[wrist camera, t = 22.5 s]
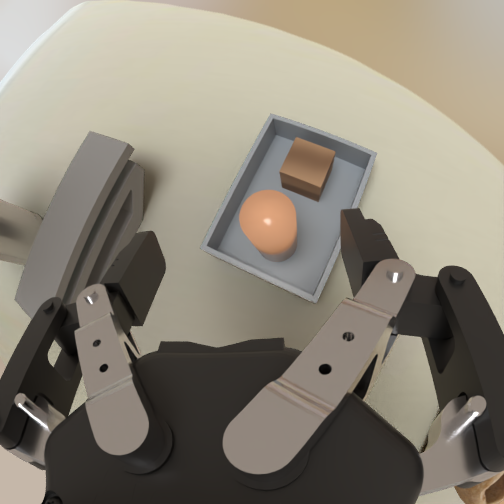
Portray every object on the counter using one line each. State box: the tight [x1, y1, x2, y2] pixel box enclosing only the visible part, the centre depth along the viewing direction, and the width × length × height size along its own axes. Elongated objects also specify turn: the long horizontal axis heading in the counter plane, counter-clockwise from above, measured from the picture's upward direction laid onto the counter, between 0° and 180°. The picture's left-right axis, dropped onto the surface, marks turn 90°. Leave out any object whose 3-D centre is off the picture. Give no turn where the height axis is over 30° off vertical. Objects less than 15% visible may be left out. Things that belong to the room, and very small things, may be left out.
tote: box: [200, 114, 377, 303], centre depth 35 cm, size 19×14×5 cm
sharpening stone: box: [15, 131, 144, 319], centre depth 36 cm, size 25×8×11 cm, turn 153°
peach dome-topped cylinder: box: [239, 190, 298, 262], centre depth 31 cm, size 5×5×11 cm
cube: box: [279, 137, 336, 202], centre depth 35 cm, size 5×5×5 cm
